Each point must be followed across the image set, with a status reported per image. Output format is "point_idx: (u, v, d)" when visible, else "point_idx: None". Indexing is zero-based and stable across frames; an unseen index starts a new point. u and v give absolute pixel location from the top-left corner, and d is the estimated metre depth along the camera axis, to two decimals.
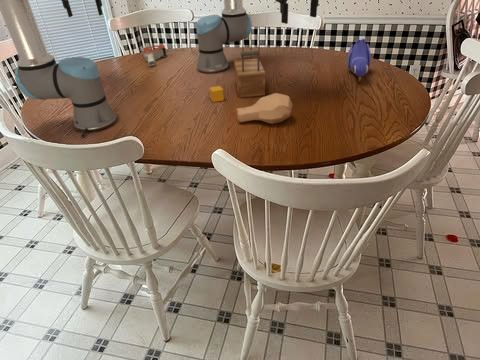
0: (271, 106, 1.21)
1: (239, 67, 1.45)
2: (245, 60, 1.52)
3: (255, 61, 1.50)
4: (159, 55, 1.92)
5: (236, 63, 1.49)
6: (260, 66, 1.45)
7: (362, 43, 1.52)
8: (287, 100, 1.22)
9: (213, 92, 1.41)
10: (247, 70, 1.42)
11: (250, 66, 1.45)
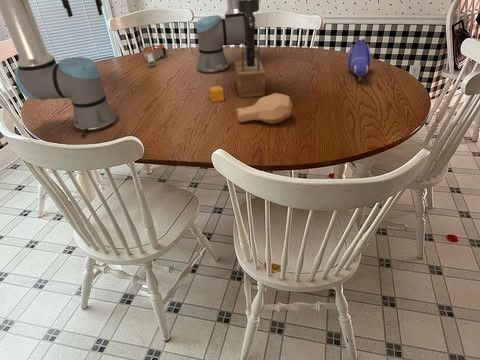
0: (271, 106, 1.21)
1: (239, 67, 1.45)
2: (245, 60, 1.52)
3: (255, 61, 1.50)
4: (159, 55, 1.92)
5: (236, 63, 1.49)
6: (260, 66, 1.45)
7: (362, 43, 1.52)
8: (287, 100, 1.22)
9: (213, 92, 1.41)
10: (247, 70, 1.41)
11: None
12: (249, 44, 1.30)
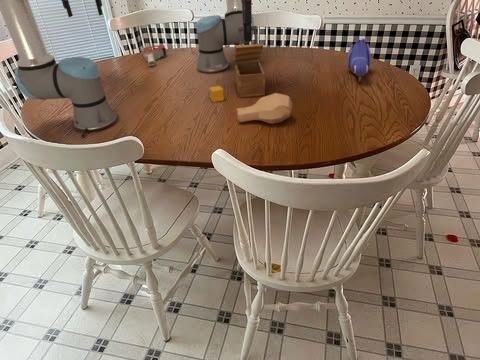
0: (271, 106, 1.21)
1: None
2: None
3: None
4: (159, 55, 1.92)
5: None
6: None
7: (362, 43, 1.52)
8: (287, 100, 1.22)
9: (213, 92, 1.41)
10: None
11: None
12: (246, 18, 1.31)
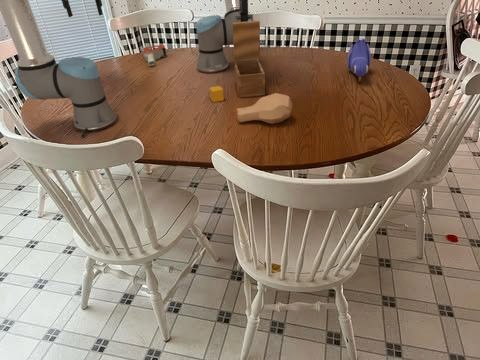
0: (271, 106, 1.21)
1: None
2: None
3: None
4: (159, 55, 1.92)
5: None
6: None
7: (362, 43, 1.52)
8: (287, 100, 1.22)
9: (213, 92, 1.41)
10: None
11: None
12: (243, 8, 1.39)
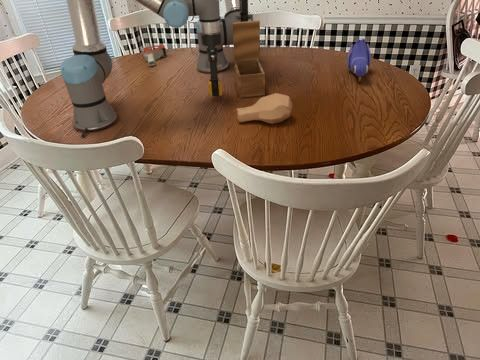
0: (271, 106, 1.21)
1: None
2: None
3: None
4: (159, 55, 1.92)
5: None
6: None
7: (362, 43, 1.52)
8: (287, 100, 1.22)
9: (211, 86, 1.39)
10: None
11: None
12: (243, 8, 1.39)
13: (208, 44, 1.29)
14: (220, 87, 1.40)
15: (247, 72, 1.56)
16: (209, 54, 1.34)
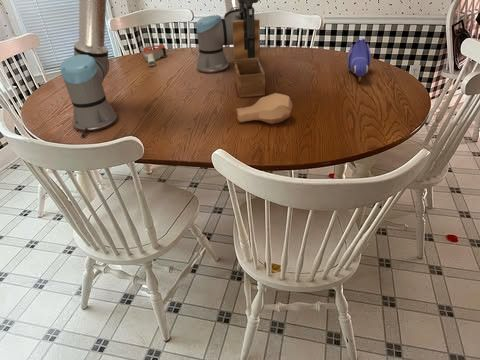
0: (271, 106, 1.21)
1: None
2: None
3: None
4: (159, 55, 1.92)
5: None
6: None
7: (362, 43, 1.52)
8: (287, 100, 1.22)
9: None
10: None
11: None
12: None
13: (246, 1, 1.25)
14: None
15: (247, 72, 1.56)
16: None
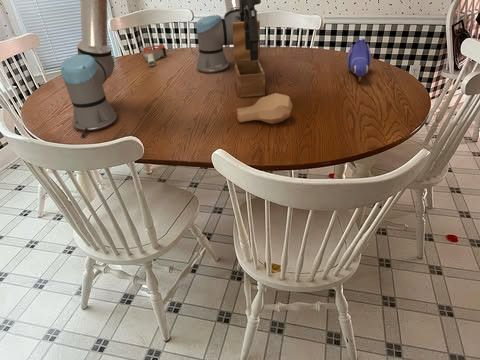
0: (271, 106, 1.21)
1: None
2: None
3: None
4: (159, 55, 1.92)
5: None
6: None
7: (362, 43, 1.52)
8: (287, 100, 1.22)
9: None
10: None
11: None
12: (243, 8, 1.39)
13: (247, 3, 1.19)
14: None
15: (247, 72, 1.56)
16: None
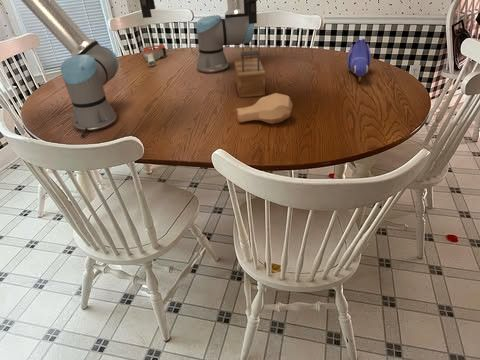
0: (271, 106, 1.21)
1: (239, 67, 1.45)
2: (245, 60, 1.52)
3: (255, 61, 1.50)
4: (159, 55, 1.92)
5: (236, 63, 1.49)
6: (260, 66, 1.45)
7: (362, 43, 1.52)
8: (287, 100, 1.22)
9: None
10: (247, 70, 1.42)
11: (250, 66, 1.45)
12: None
13: None
14: None
15: None
16: None
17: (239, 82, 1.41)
